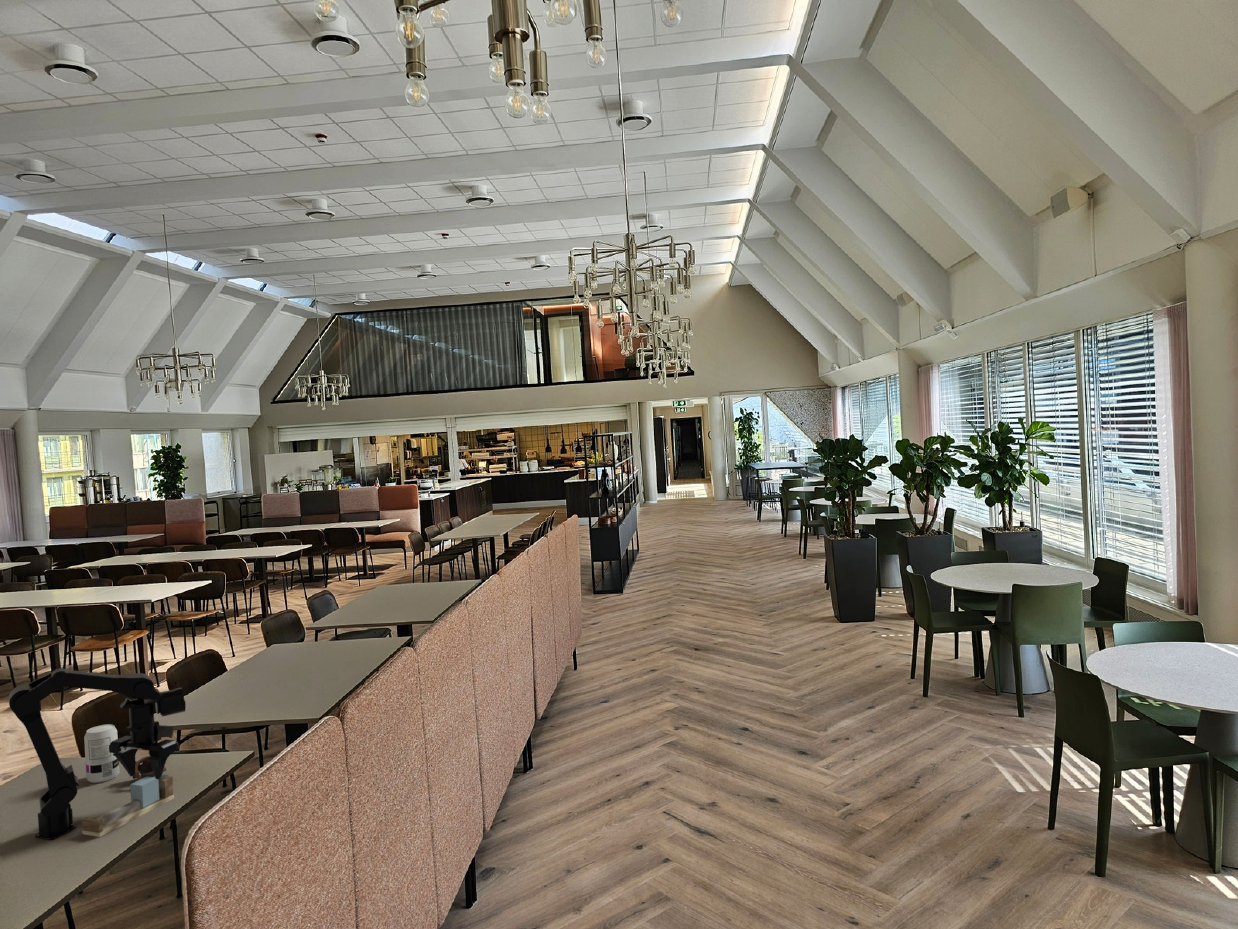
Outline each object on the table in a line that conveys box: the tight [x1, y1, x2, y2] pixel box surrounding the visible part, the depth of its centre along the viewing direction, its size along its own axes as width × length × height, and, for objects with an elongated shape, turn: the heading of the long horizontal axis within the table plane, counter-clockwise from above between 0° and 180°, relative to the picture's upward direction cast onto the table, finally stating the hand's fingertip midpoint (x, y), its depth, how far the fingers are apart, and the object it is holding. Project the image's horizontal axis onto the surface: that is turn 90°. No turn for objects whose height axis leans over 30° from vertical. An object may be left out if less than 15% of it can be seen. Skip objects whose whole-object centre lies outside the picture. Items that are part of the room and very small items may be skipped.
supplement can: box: [83, 723, 120, 784], centre depth 231 cm, size 8×8×15 cm
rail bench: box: [81, 774, 175, 838], centre depth 206 cm, size 23×6×6 cm, turn 163°
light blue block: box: [129, 777, 159, 808], centre depth 210 cm, size 5×4×6 cm
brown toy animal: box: [132, 755, 168, 781], centre depth 228 cm, size 12×10×8 cm
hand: (145, 777), depth 210 cm, fingers open, 9 cm apart
